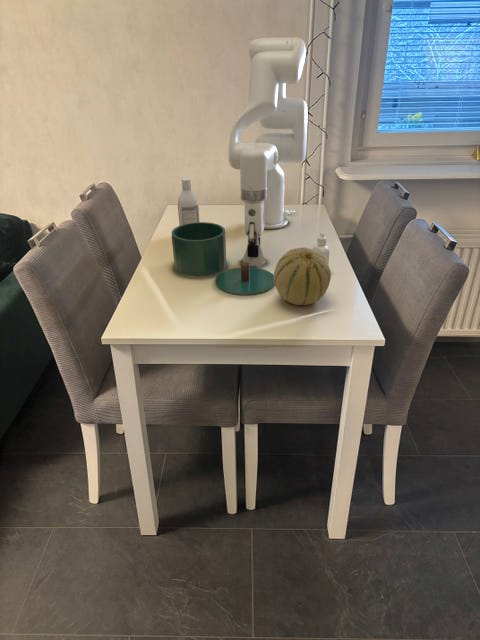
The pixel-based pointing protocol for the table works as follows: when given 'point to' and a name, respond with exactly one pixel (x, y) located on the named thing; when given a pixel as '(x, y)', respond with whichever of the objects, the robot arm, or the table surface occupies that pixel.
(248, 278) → the tin lid
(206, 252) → the tin
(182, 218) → the bath foam
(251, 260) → the flask
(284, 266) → the cantaloupe
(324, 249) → the eye dropper bottle
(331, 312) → the table surface
